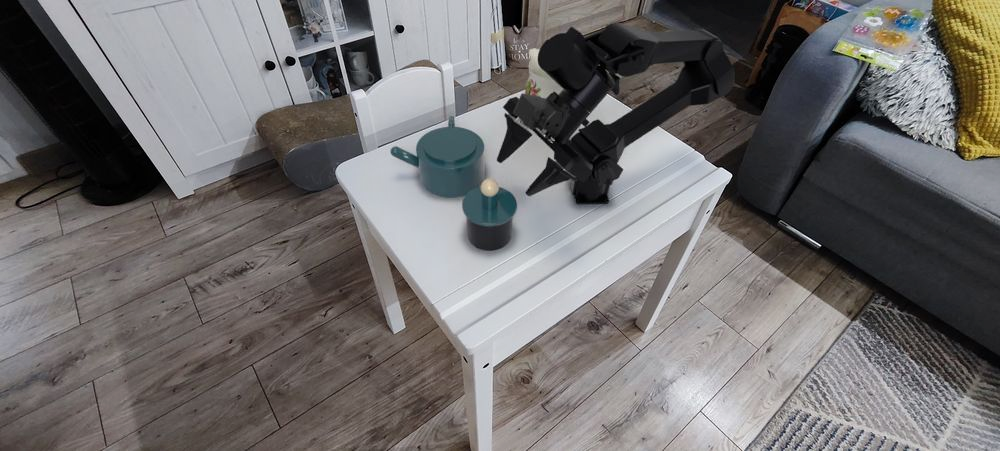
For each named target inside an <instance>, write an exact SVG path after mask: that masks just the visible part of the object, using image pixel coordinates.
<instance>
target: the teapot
mask: <svg viewBox="0 0 1000 451" xmlns="http://www.w3.org/2000/svg"><path fill="white" fill-rule="evenodd" d="M447 122H448V123H447V126H444V127H442V126H441V127H438V128H435V129H432V130H430V131H428V132H426V133H425V134H423V135H422V136H421V137H420V138H419V139H418V141H417V143H416V146H415V153H416V155H415V154H414V153H411V152H409V151H408V150H406V149H403V148H402V147H399V146H392V147H391V148H390V152H389V153H390V154H391V156H392V157H394V158H396V159H398V160H399V161H402V162H404V163H406V164H409V165H410V166H413V167H415V168H417V169H418V174H419V180H420V183H421V185H422V187H423V188H424V189H425V190H426V191H427V192H428V193H431V194H433V195H435V196H438V197H443V198H460V197H463V196H464V197H465V196H466V194H467V193H468V192H470V191H471V190H473V189H475V188H477V187H480V186H481V183H482V182H483V181H484V180H485V142H484V140H483V139H482V137H481V136H480V135H479V134H478V133H476V132H474V131H473V130H470V129H468V128H465V127H460V126H456V124H455V123H456V121H455V116H453V115H449V116H448V121H447Z"/></svg>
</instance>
